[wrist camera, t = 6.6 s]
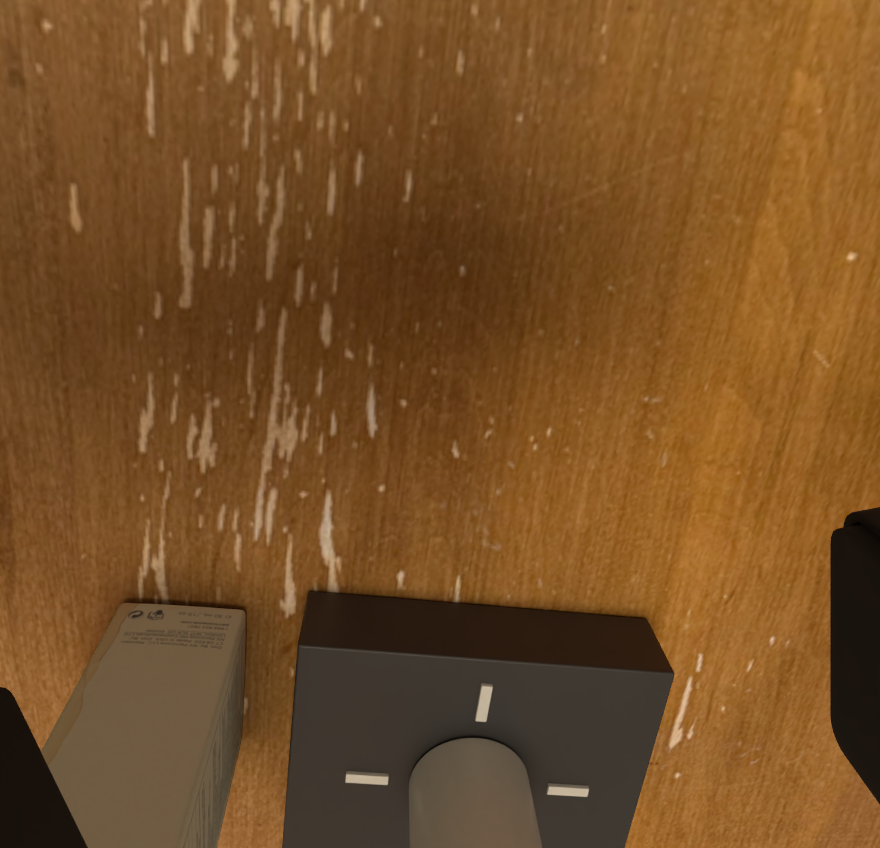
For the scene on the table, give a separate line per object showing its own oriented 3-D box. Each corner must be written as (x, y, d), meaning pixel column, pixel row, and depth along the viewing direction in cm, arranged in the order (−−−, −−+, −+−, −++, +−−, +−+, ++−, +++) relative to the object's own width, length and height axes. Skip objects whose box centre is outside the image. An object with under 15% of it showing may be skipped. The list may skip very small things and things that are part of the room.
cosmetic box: (120, 596, 26) (-96, 960, 15) (253, 606, 26) (144, 966, 15) (125, 742, 28) (-60, 1157, 17) (248, 749, 28) (149, 1157, 17)
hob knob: (404, 826, 26) (405, 969, 22) (413, 734, 25) (416, 867, 20) (519, 829, 26) (544, 971, 22) (535, 738, 25) (564, 870, 21)
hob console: (290, 810, 30) (278, 885, 27) (308, 590, 26) (296, 648, 23) (591, 827, 31) (612, 900, 28) (647, 618, 27) (677, 676, 24)
